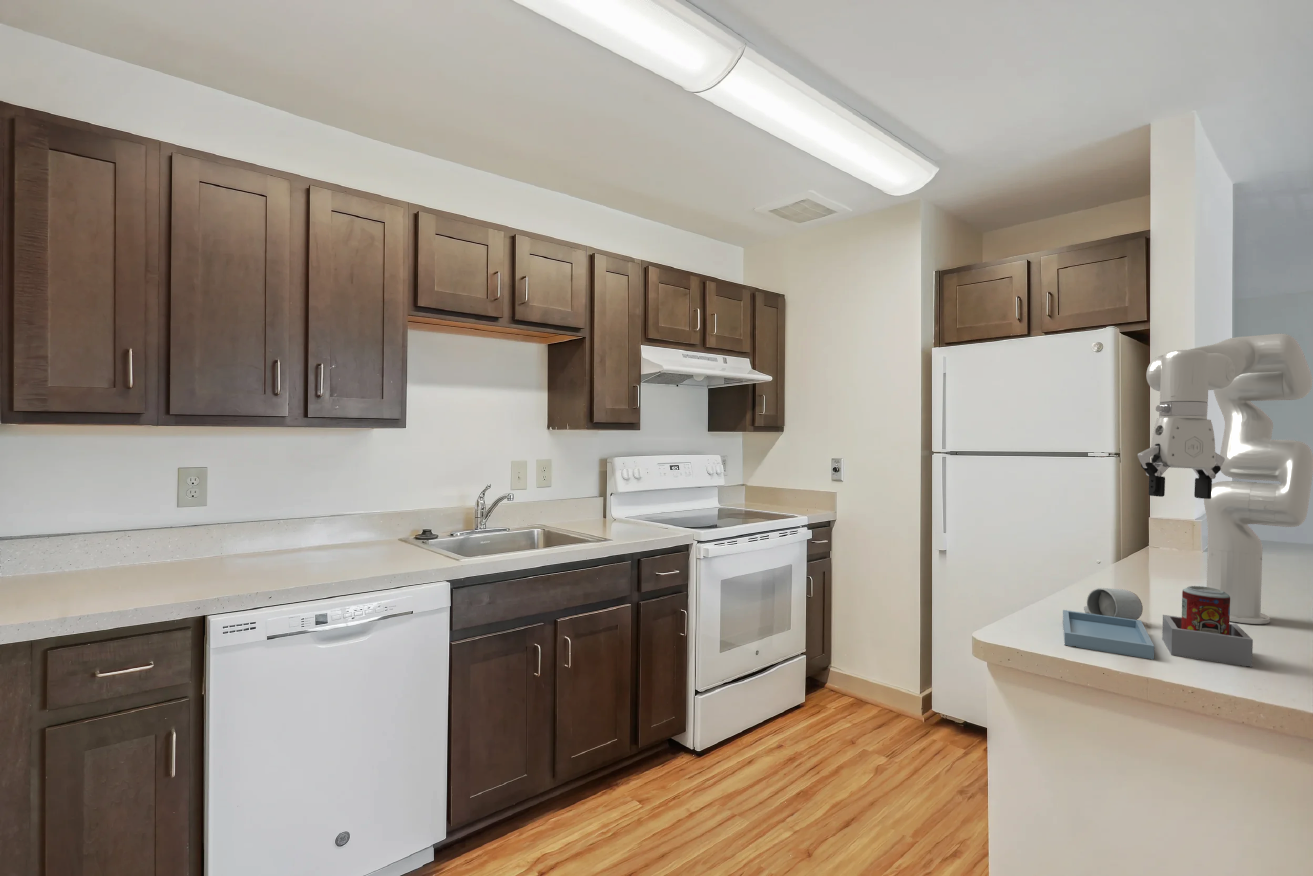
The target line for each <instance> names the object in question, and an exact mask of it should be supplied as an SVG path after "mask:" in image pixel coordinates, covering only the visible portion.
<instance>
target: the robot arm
mask: <svg viewBox="0 0 1313 876" xmlns="http://www.w3.org/2000/svg"><path fill="white" fill-rule="evenodd" d="M1146 369H1147V370H1146V373H1145V375H1146V377H1145V378H1146V381H1147V384H1148V386H1149V387H1150V388H1151V389H1152V390H1154V391H1156V392H1159V404H1158V405H1156V406H1155V411H1156V412H1159V413H1158V416H1159V417H1158V418H1156V420H1155V424H1154V426H1153V432H1152V437H1151V444H1150V445H1151V446H1150V447H1149V448H1146V449H1144V450H1143V451H1140V452H1138V453H1137V456H1136V457H1137V458H1138V460H1139V463H1140V467H1141V468H1142V469H1143V470H1144V471H1145V475H1146V476H1148V495H1149V496H1151V497H1162V498H1163V497H1164V496H1166V495H1165V491H1166V490H1165V489H1166V477H1165V476H1163V475H1164V474H1165V473H1166V471H1167V470H1168V469H1169V468H1171V469H1172V468H1177V469H1192V470H1193V471H1194V473H1195V474H1196V476H1197V477H1195V479H1194V498H1196V499H1203V502H1204V503H1203V504H1204V510H1205V514H1206V515H1205V516H1206V522H1207V558H1206V563H1207V564H1206V587H1210V588H1215V589H1219V590H1221V591H1224V592H1225V593H1227V594H1228V595H1229V596H1230V622H1233V623H1241V624H1247V625H1248V624H1250V625H1251V624H1252V625H1265V624H1269V623H1270V621H1271V617H1270V616H1268V615H1267V614H1265V613H1262V611H1261V609H1262V585H1263V584H1262V581H1263V543H1262V541H1261V539H1260V537H1259V536H1258V535H1257V533H1255V531H1254V530H1253V529H1252V527H1250V526H1249V525H1260V526H1269V527H1279V528H1280V527H1282V528H1296V527H1299V526H1301V525H1302V524H1304V522H1305V520H1306V519H1307V515H1308V510H1309V504H1310V496H1311V489H1312V481H1313V452H1312V449H1311V447H1310V446H1309V445H1308V444H1307V443H1305V442H1302V441H1299V440H1295V439H1294V440H1293V439H1272V436H1273V429H1274V422H1273V420H1272V419H1271V418H1270V416H1269V415H1268V414H1267V413H1265V412H1264V411H1263V410H1262V409H1261V408H1260V407H1258V406H1257V405H1255V403H1253V402H1255V401H1256V402H1260V401H1261V402H1262V401H1263V402H1264V401H1295V400H1300V399H1304V398H1305V397H1306V396H1307V395H1309V393H1310V392H1311V390H1312V386H1313V376H1312V372H1311V369H1310V367H1309V364H1308V361H1307V359H1306V356H1305V353H1304V351H1303V349H1302V347H1301V346H1300V344H1299V343H1298V341H1297V339H1295V338H1294V336H1293V337H1292V335H1289V334H1287V333H1271V334H1262V335H1261V334H1260V335H1249V336H1236V337H1232V338H1227V339H1224V340H1221V341H1219V342H1215V343H1213V344H1207V345H1203V346H1199V347H1194V348H1190V349H1178V350H1172V351H1168V352H1166V353H1164V354H1161V355H1159V356H1157V357H1155V358H1154V359H1152V360H1151V361H1150V363H1149V365H1148V367H1147V368H1146ZM1209 391H1213V394H1214V397H1215V399H1216V402H1217V405H1218V406H1219V407H1218V408H1219V410H1220V412H1221V414H1222V415H1223V416H1222V417H1223V420H1224V429H1223V436H1222V442H1221V447H1220V453H1217V452H1216V442H1215V441H1216V439H1215V432H1214V427H1213V422H1212V419H1208V410H1209V409H1208V408H1209V407H1208V406H1209V405H1208V403H1209ZM1220 472H1221V474H1222V475H1224V476H1226V477H1228V478H1232V479H1237V481H1236V480H1222V481H1221V480H1220V481H1217V482H1216V481H1215V482H1214V483H1213V480H1214V479H1216V477H1217V474H1218V473H1220ZM1239 480H1248V481H1239ZM1253 481H1254V482H1253ZM1256 481H1265V482H1256ZM1267 481H1268V483H1267ZM1269 482H1280V483H1269Z"/></svg>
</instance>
